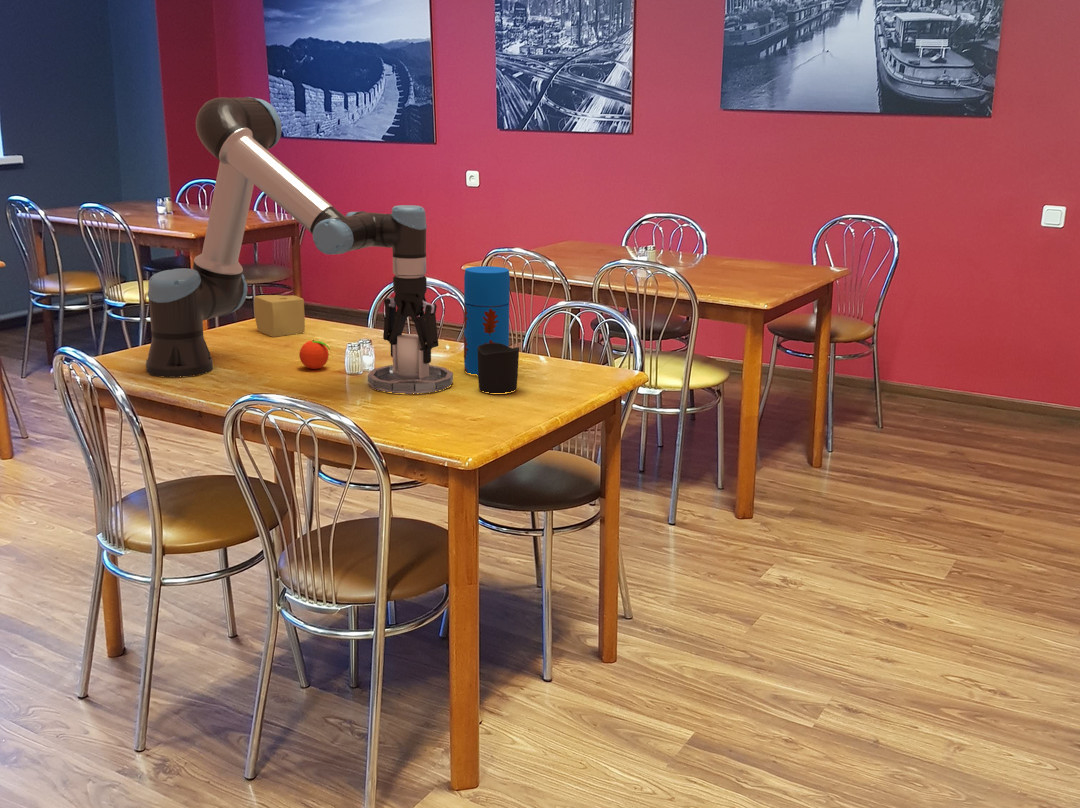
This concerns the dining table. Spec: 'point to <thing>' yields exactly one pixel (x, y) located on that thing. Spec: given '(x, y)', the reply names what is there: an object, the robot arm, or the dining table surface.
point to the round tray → (410, 381)
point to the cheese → (279, 314)
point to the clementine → (314, 354)
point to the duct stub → (408, 356)
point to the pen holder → (497, 368)
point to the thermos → (485, 310)
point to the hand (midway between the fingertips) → (410, 373)
